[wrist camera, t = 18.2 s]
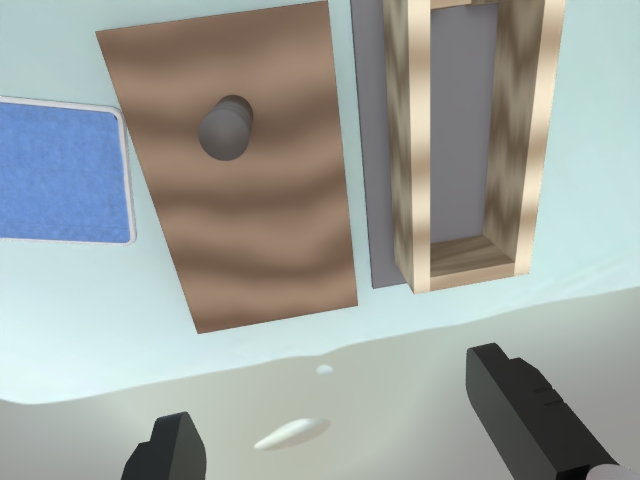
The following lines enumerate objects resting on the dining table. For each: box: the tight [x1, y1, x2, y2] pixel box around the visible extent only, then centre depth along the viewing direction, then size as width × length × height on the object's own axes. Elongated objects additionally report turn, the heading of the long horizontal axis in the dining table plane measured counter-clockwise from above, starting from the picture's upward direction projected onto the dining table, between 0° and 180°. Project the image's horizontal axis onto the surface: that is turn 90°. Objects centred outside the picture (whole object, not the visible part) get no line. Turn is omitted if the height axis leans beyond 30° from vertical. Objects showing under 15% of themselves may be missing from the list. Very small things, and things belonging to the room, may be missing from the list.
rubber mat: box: [350, 0, 499, 289], centre depth 36 cm, size 30×15×1 cm, turn 7°
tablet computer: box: [0, 96, 137, 246], centre depth 33 cm, size 19×13×1 cm, turn 84°
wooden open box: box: [383, 0, 566, 294], centre depth 33 cm, size 24×11×6 cm, turn 8°
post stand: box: [95, 0, 358, 334], centre depth 32 cm, size 28×17×10 cm, turn 7°
